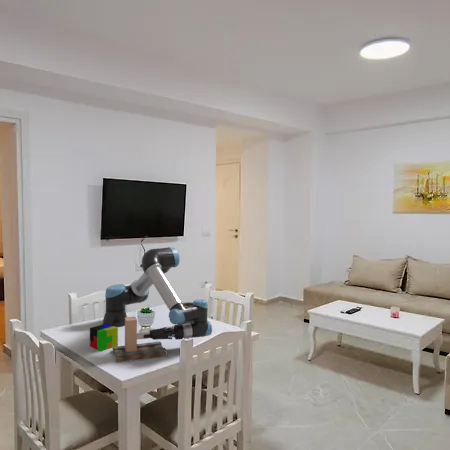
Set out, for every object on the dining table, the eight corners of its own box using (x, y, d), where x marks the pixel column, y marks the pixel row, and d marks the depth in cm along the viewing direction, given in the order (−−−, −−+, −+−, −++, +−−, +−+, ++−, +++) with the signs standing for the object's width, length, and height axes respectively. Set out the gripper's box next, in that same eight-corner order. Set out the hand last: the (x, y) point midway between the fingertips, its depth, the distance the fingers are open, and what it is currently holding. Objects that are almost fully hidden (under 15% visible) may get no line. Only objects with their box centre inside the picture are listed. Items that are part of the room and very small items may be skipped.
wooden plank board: (159, 345, 217) (159, 340, 217) (166, 355, 203) (166, 350, 202) (112, 350, 209) (112, 345, 208) (116, 362, 194) (116, 357, 194)
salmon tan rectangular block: (134, 348, 207) (134, 316, 206) (136, 352, 202) (136, 319, 201) (124, 349, 206) (124, 317, 205) (126, 353, 200) (126, 320, 199)
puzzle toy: (106, 341, 221) (106, 323, 221) (117, 346, 215) (117, 327, 214) (89, 346, 214) (89, 327, 213) (101, 351, 207) (101, 332, 207)
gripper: (185, 342, 207) (138, 348, 198) (178, 334, 219) (134, 339, 210) (186, 328, 207) (138, 333, 198) (179, 320, 219) (134, 325, 210)
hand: (136, 336), depth 204 cm, fingers closed
